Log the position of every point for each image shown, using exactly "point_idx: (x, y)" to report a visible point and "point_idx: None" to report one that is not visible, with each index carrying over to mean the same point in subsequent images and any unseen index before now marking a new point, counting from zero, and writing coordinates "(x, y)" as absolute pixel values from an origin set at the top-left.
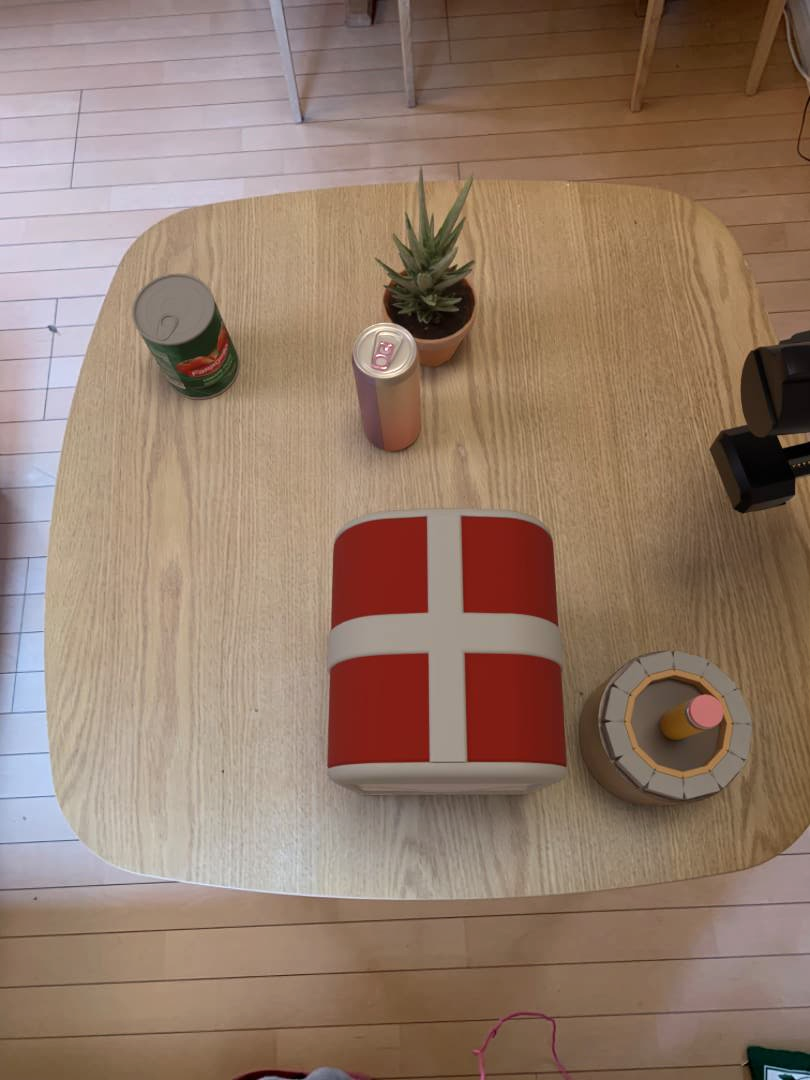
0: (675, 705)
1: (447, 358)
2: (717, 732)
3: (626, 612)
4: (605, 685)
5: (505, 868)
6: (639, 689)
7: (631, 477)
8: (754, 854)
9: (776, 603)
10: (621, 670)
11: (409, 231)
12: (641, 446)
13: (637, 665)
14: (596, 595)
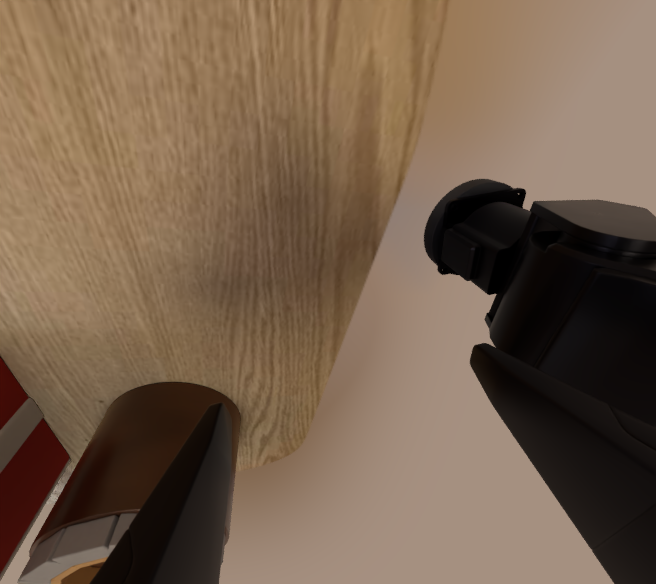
0: None
1: None
2: None
3: (142, 333)
4: (41, 528)
5: None
6: (63, 576)
7: (115, 125)
8: (265, 464)
9: (324, 322)
10: (49, 533)
11: None
12: (127, 44)
13: (51, 563)
14: (94, 315)
